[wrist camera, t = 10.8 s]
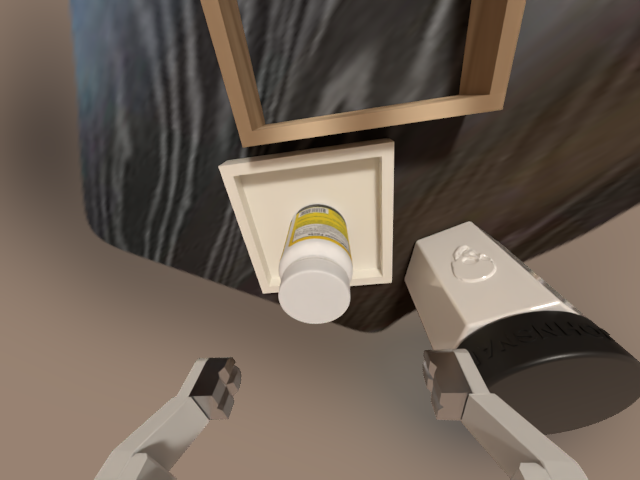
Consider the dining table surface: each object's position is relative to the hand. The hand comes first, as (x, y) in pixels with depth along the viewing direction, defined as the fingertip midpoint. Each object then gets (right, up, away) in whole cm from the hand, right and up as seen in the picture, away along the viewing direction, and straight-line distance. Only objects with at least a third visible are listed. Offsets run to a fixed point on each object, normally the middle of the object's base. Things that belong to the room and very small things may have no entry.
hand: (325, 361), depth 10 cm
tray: (0, +7, +10) cm, 12 cm away
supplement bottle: (0, +6, +10) cm, 12 cm away
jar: (+12, +3, +13) cm, 18 cm away
